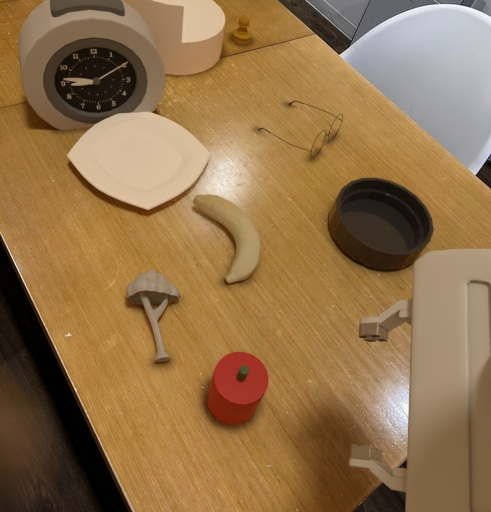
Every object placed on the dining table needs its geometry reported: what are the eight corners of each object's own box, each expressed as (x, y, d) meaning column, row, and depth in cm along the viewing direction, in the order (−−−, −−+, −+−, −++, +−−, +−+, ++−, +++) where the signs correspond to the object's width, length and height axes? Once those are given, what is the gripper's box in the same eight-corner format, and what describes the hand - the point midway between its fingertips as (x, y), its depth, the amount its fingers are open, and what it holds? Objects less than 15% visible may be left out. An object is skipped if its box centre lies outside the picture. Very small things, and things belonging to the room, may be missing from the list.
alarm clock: (32, 132, 79) (4, 12, 63) (28, 102, 83) (1, -19, 67) (164, 121, 86) (168, 10, 70) (154, 94, 90) (157, -17, 74)
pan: (437, 238, 80) (450, 220, 77) (385, 289, 73) (398, 272, 69) (364, 183, 85) (373, 164, 82) (308, 225, 77) (316, 206, 74)
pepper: (266, 401, 60) (283, 372, 53) (231, 435, 57) (244, 409, 49) (232, 366, 62) (244, 333, 54) (196, 397, 59) (203, 367, 51)
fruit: (234, 197, 78) (237, 182, 76) (272, 274, 71) (277, 260, 68) (190, 206, 76) (192, 191, 73) (226, 286, 68) (229, 273, 66)
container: (230, 75, 97) (241, 8, 86) (125, 74, 92) (123, 3, 81) (211, 18, 108) (218, -47, 97) (116, 15, 102) (113, -55, 92)
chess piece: (229, 34, 105) (232, 11, 101) (246, 33, 106) (250, 11, 102) (235, 45, 103) (239, 22, 99) (252, 44, 104) (257, 21, 100)
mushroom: (140, 355, 56) (128, 262, 61) (130, 368, 60) (119, 278, 65) (197, 350, 60) (180, 262, 65) (184, 362, 63) (169, 278, 68)
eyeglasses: (254, 132, 88) (259, 109, 84) (291, 102, 95) (298, 79, 91) (306, 165, 85) (315, 142, 81) (340, 131, 92) (350, 109, 88)
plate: (224, 161, 82) (226, 153, 81) (149, 231, 72) (149, 223, 70) (135, 106, 86) (135, 96, 85) (50, 164, 75) (48, 154, 74)
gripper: (545, 215, 31) (348, 249, 40) (580, 604, 23) (322, 538, 32) (567, 256, 35) (384, 279, 44) (603, 598, 27) (369, 541, 36)
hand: (358, 389), depth 38 cm, fingers open, 8 cm apart
